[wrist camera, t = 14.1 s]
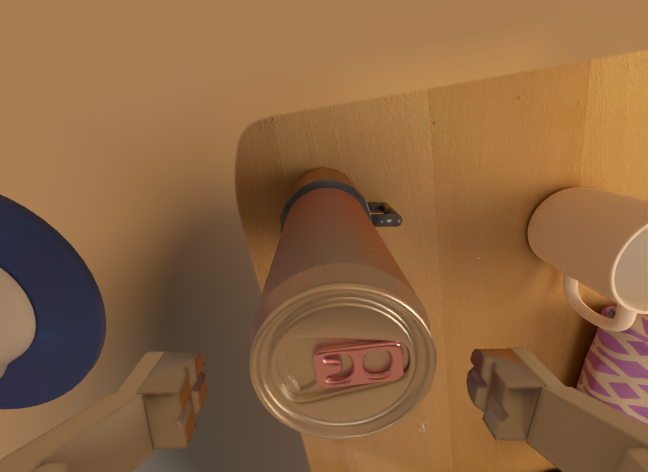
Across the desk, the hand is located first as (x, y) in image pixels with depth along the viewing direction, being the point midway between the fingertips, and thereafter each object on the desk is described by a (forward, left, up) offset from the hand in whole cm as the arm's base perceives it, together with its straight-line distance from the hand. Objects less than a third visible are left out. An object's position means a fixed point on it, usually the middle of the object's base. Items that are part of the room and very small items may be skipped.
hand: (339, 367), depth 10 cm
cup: (+25, -4, -23) cm, 34 cm away
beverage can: (0, 0, -15) cm, 15 cm away
